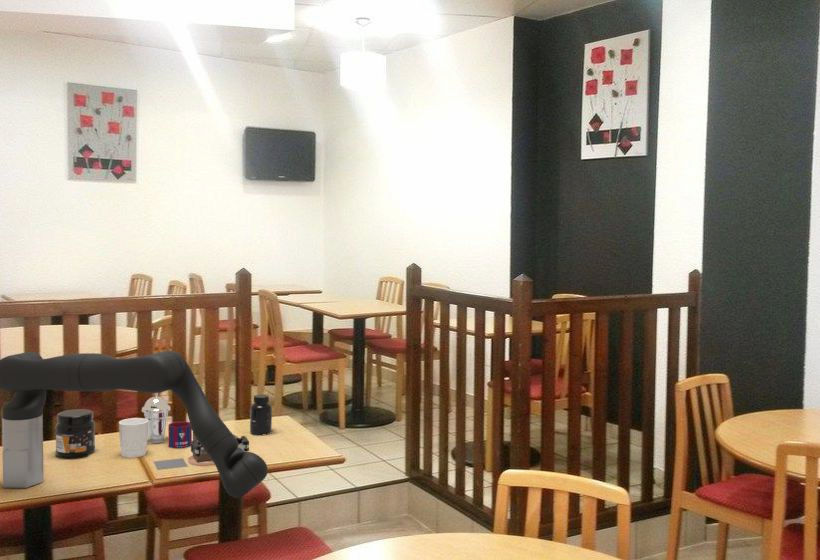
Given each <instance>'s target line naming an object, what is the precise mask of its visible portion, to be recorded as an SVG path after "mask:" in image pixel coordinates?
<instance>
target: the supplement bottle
mask: <svg viewBox="0 0 820 560" xmlns="http://www.w3.org/2000/svg"><path fill="white" fill-rule="evenodd" d="M269 402H270V396H269V395H267V394H256V395H254V396H253V403H252V404H251V405H250V411H249V415H250V418H249V421H250V422H249V423H250V424H249V427H250V429H249V430H250V431H249V432H250V433H251V434H252V435H254V436H264V435H263V434H266V435H269V434H271V433H272V428H273V427H272V425H273V422H272V421H273V420H272V419H273V417H272V416H273V407H272V404H270V403H269ZM270 432H271V433H270ZM268 433H269V434H268Z"/></svg>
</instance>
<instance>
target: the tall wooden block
mask: <svg viewBox="0 0 820 560" xmlns="http://www.w3.org/2000/svg"><path fill="white" fill-rule="evenodd" d="M195 439H196V437H195V435H194V433H193V432H192V441H195ZM192 456H193V457H194V459H195V460H196V462H197V463H199V462H207V461H212V459H211V457H210V456H209V455H208V454H206V453H201V455H200V456H199V457H197V456H195V455H194V454H193V453H192Z"/></svg>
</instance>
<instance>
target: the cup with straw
mask: <svg viewBox="0 0 820 560" xmlns="http://www.w3.org/2000/svg"><path fill="white" fill-rule="evenodd" d="M154 394H155V395H154V396H153V397H150V398H149V399H147V400H146V401H145V403H144V406H142V407H141V412H142V413H143V415H144V419H147V420H148V435H147V440H148V443H150V444H161V443H163V442H165V439H164V438H165V435H166V426H167V418H168V415H169V412H170V411H171V406H170V405H169V404H168V402H167V400H166V399H165V398H164V397H161V396H158V395H159V393H154Z"/></svg>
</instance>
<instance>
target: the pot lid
mask: <svg viewBox="0 0 820 560" xmlns="http://www.w3.org/2000/svg"><path fill="white" fill-rule="evenodd" d="M187 463H188V464H190V465H192V466H199V467H206V466H215V464H214V462H213V461H207V462H199V463H197V462H196V460H195V459H194V457H193V455H190V456H189V457H188V458H187Z"/></svg>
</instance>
